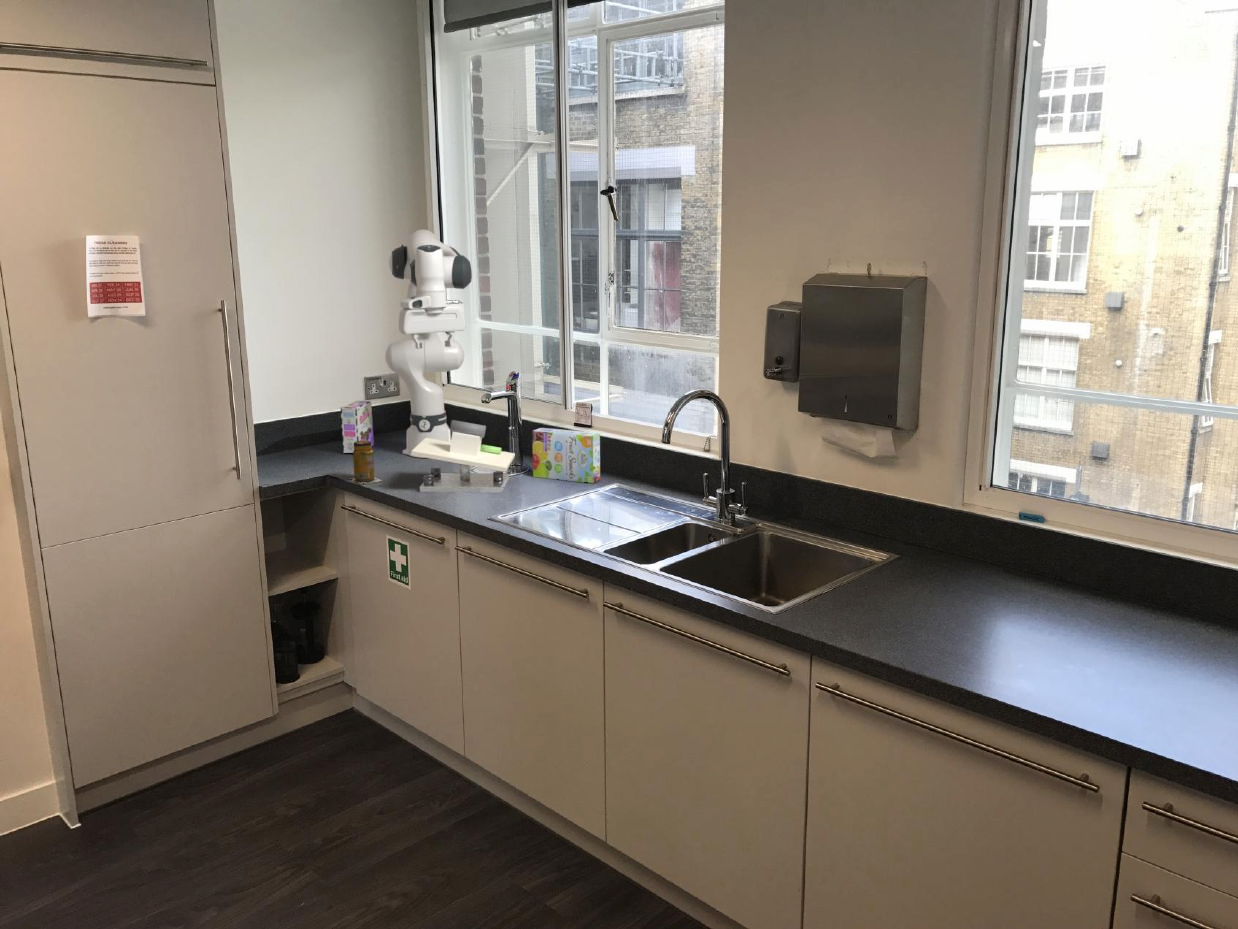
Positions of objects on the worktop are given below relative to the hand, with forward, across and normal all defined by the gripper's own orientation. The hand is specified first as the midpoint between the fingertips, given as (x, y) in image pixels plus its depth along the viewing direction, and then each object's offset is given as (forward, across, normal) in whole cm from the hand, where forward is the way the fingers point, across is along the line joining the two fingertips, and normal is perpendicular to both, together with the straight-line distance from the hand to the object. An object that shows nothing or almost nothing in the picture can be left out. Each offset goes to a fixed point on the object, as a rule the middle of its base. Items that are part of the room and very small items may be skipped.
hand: (433, 347), depth 303 cm
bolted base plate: (+41, -3, +11) cm, 42 cm away
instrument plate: (+32, -3, +11) cm, 34 cm away
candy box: (+40, +7, -53) cm, 67 cm away
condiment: (+41, +20, -12) cm, 47 cm away
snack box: (+41, -32, +22) cm, 57 cm away
